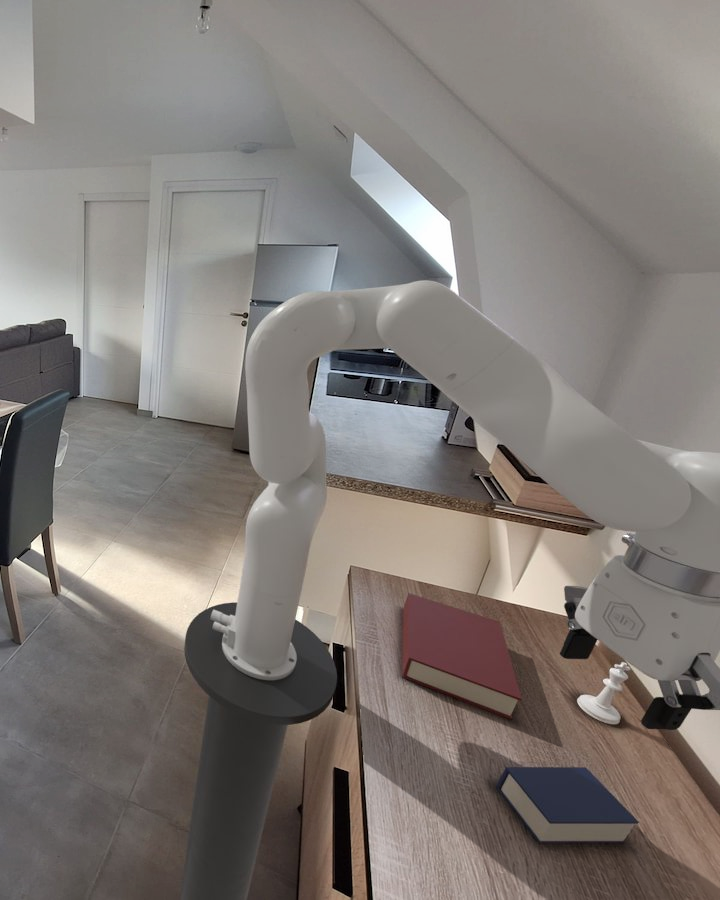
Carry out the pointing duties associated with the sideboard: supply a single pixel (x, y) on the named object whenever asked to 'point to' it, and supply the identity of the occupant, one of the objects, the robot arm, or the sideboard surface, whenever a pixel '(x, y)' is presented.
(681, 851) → the sideboard surface
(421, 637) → the hardback
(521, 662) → the sideboard surface
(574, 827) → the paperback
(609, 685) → the chess piece
